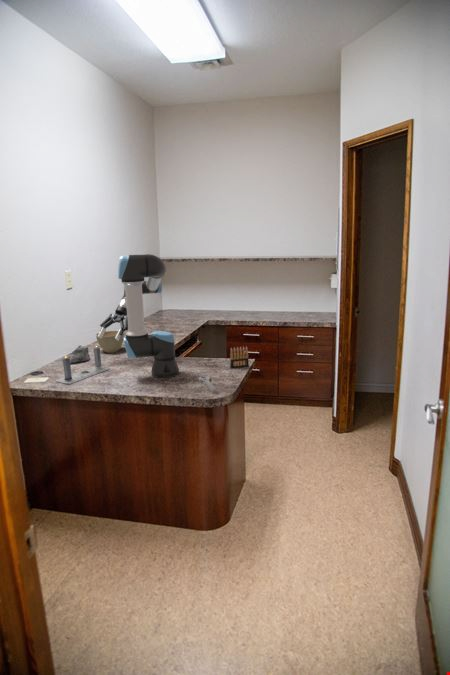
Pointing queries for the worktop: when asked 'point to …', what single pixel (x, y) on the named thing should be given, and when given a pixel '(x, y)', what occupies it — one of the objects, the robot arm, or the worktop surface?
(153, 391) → the worktop surface
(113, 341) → the flower pot
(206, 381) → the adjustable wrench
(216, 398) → the worktop surface
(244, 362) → the ammunition clip
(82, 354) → the mineral rock
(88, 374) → the bolt plate
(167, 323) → the worktop surface
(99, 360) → the leg
